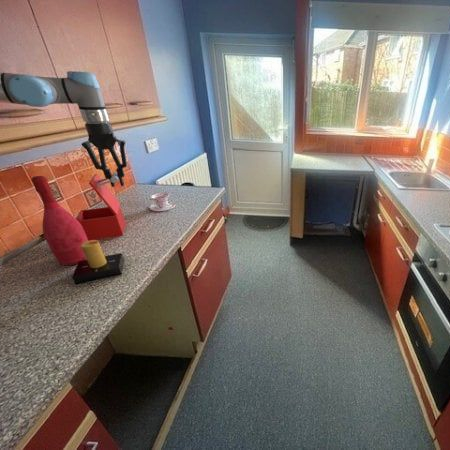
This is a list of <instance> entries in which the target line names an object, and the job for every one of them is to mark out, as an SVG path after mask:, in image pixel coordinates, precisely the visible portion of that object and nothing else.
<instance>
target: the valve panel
mask: <svg viewBox="0 0 450 450" xmlns="http://www.w3.org/2000/svg"><path fill="white" fill-rule="evenodd" d="M104 256H105V259H106V261H107V263H106V264H105V265H103V266H101V267H99V268H91V267H90V265H89V263H88V261H87V260H83V261H79V262H78V263H77V264H76V266H75V269H74V270H73V271H74V272H73V274H72V276H71V279H72V281H73V282H74V285H76V286H78V285H81V284H86V283H90V282H91V283H92V282H94V281H99V280H105V279H108V278H112V277H118V276H122V274H123V271H124V263H125V258H124V257H125V256H124V255H123V252H119V253H114V254H109V255H104Z"/></svg>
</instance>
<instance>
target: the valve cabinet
mask: <svg viewBox="0 0 450 450" xmlns="http://www.w3.org/2000/svg"><path fill="white" fill-rule="evenodd" d="M75 218H76V219H77V220H78V222H79V223H80V224H81V226H82V227H83V229H84V232H85V234H86V236H87V239H88V241H90V240H102V239H103V240H104V239H108V238H114V237H120V236H124V234H125V229H126V224H127V222H126V220H125V217H124V213H123V210H122V207H121V206H120V207H119V210H118V213H117V215H114V214H113V212H112V211H111V210H110V209H109V207H108V206H105V207H96V208H88V209H82V210H80V211H79V212H78V214H77V216H76V217H75Z"/></svg>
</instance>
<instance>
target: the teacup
mask: <svg viewBox="0 0 450 450" xmlns="http://www.w3.org/2000/svg"><path fill="white" fill-rule="evenodd" d="M169 197H170V193H168V192H158V193H155V194H152V195H151V196H150V199H149V201H150V203H151V205H150V206H149V210H150V211H152V212H165V211H169V210H172V209H174V208H175V207H176V203H175V202H173V201H168V199H169ZM154 202H155V203H154Z"/></svg>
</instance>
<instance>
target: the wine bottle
mask: <svg viewBox="0 0 450 450" xmlns="http://www.w3.org/2000/svg"><path fill="white" fill-rule="evenodd" d="M31 182H32V184H33V187H34V189H35V191H36V192H37V193H38V194H39V195H40V197H41V200H42V205H43V216H42V234H43V237H44V240H45V241H46V243H47V245H48V247H49V249H50V250H51V252H52V254H53V256H54V257H55V259H56V260H57V262H58V263H59V265H62V266H71V265H78V262H79V261H83V260H87V259H86V256H85V254H84V252H83V250H82V248H81V244H82V243H84V242H86V241H88V239H87V236H86V234H85V232H84V229H83V227H82V226H81V224H80V223H79V222H78V220H77V219H76V217H75V216H74V215H72V214H71V212H69V211H67V210H66V209H65V208H64V207H63V206H62V205H61V204H60V203H59V202H58V200H56V198H55V196H54V194H53V193H52V187H51V185H50V183H49V182H48V178H47V177H46V176H44V175H36V176H32V178H31Z"/></svg>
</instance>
